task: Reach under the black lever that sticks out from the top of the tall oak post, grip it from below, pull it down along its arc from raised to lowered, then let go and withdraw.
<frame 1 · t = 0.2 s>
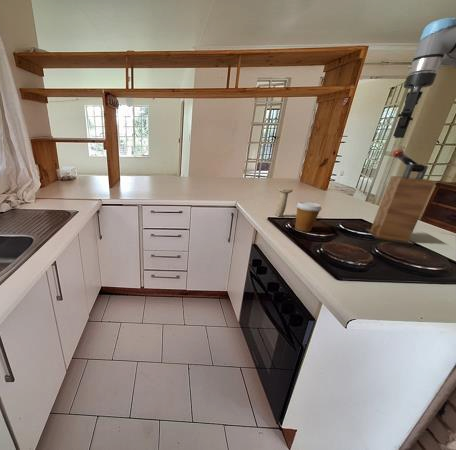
hand: (398, 137, 92), 41 cm above the worktop, tool pointing down, fingers open, 13 cm apart
lever: (406, 160, 98), point 32 cm above the worktop, hinge at 15.0°
lever post: (387, 238, 101), on the worktop
disposable coffee cup: (302, 229, 108), on the worktop
mushroom: (279, 216, 127), on the worktop
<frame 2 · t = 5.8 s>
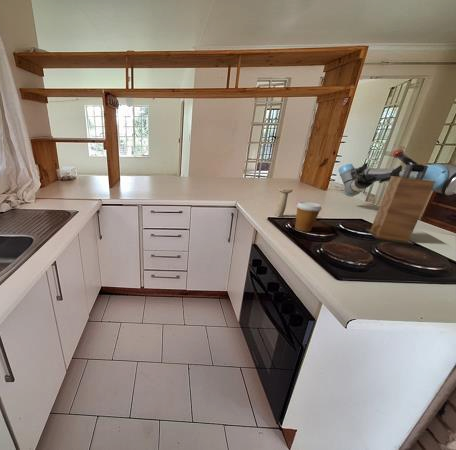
hand: (383, 166, 116), 28 cm above the worktop, tool pointing upward, fingers open, 13 cm apart
nothing on the worktop moved.
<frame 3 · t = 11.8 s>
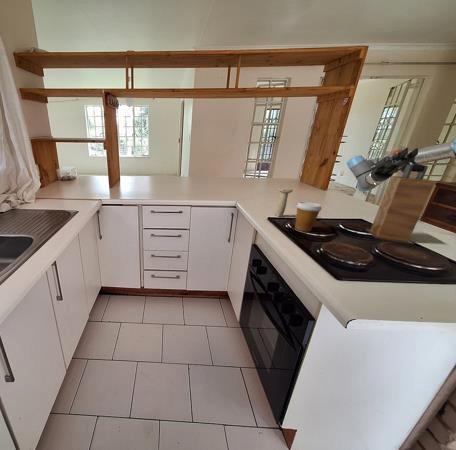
hand: (411, 151, 96), 36 cm above the worktop, tool pointing upward, fingers closed on lever, 2 cm apart
lever: (406, 160, 98), point 32 cm above the worktop, hinge at 15.0°, touching gripper
everything else where it was.
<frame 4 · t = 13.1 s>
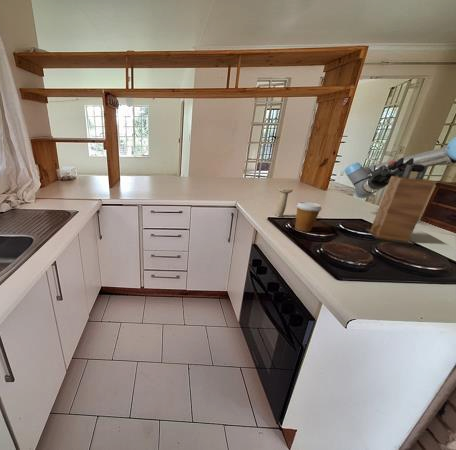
hand: (407, 161, 98), 32 cm above the worktop, tool pointing upward, fingers closed on lever, 2 cm apart
lever: (403, 166, 99), point 30 cm above the worktop, hinge at -0.3°, touching gripper
everything else where it was.
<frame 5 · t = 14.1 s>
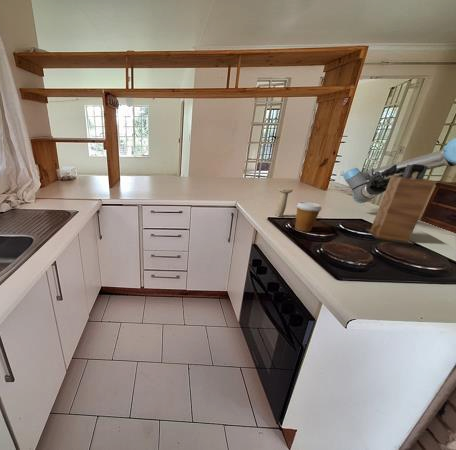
hand: (404, 168, 99), 29 cm above the worktop, tool pointing upward, fingers open, 5 cm apart
lever: (402, 170, 100), point 28 cm above the worktop, hinge at -10.2°
everything else where it was.
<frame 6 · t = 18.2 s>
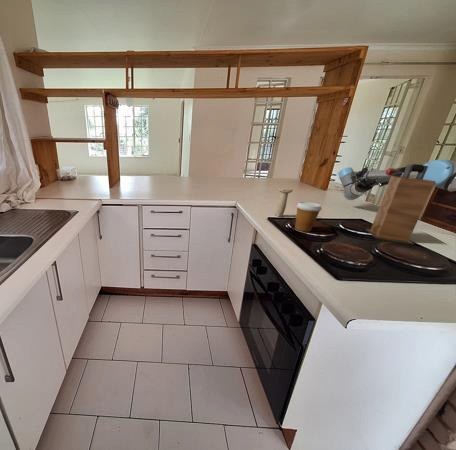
hand: (383, 170, 115), 27 cm above the worktop, tool pointing upward, fingers open, 13 cm apart
nothing on the worktop moved.
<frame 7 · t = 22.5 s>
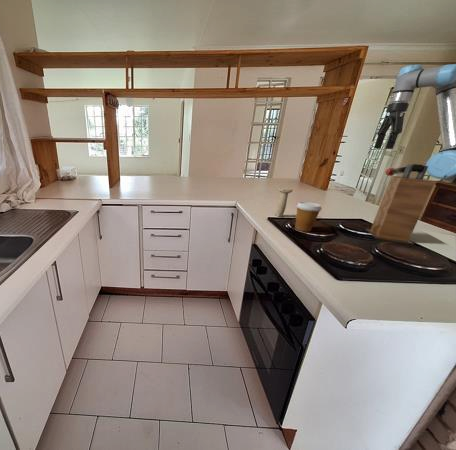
hand: (382, 148, 122), 37 cm above the worktop, tool pointing down, fingers open, 13 cm apart
nothing on the worktop moved.
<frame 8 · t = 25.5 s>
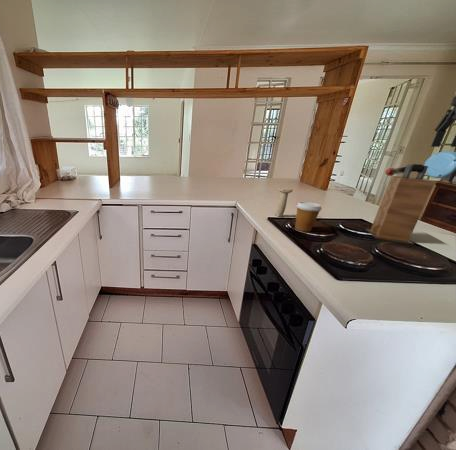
hand: (444, 146, 109), 39 cm above the worktop, tool pointing down, fingers open, 13 cm apart
nothing on the worktop moved.
at the end: lever at -10° (first picture: +15°); the gripper is holding nothing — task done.
